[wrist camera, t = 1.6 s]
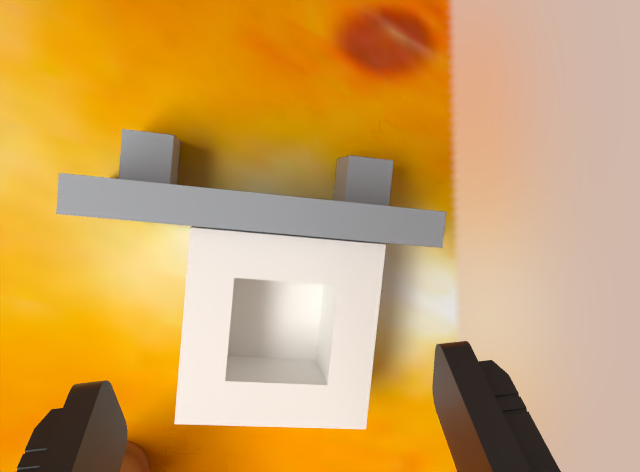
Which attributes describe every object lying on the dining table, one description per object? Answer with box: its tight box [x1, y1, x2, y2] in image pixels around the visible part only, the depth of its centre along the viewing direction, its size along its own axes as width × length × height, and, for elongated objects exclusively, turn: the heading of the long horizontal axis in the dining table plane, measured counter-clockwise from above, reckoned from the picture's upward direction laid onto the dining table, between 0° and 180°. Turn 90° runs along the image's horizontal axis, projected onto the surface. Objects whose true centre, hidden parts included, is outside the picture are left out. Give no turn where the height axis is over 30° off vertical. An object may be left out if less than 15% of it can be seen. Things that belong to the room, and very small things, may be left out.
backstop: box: [56, 129, 446, 248], centre depth 32 cm, size 20×5×10 cm, turn 84°
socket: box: [174, 226, 386, 429], centre depth 35 cm, size 12×12×6 cm
